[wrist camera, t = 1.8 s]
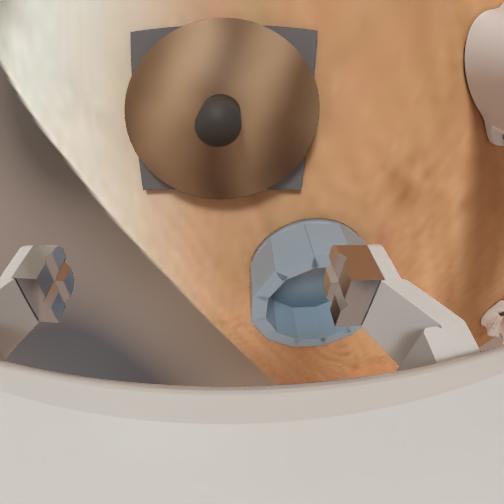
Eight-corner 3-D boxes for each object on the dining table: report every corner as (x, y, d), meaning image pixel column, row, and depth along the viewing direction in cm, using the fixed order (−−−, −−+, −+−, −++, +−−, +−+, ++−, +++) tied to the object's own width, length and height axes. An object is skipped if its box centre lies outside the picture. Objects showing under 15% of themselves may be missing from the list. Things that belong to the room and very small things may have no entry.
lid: (323, 26, 20) (344, 23, 16) (305, 194, 30) (317, 224, 25) (125, 27, 19) (100, 26, 15) (138, 194, 29) (123, 224, 24)
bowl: (379, 220, 32) (400, 254, 28) (350, 307, 41) (362, 342, 36) (251, 217, 32) (255, 254, 27) (247, 310, 40) (249, 348, 35)
